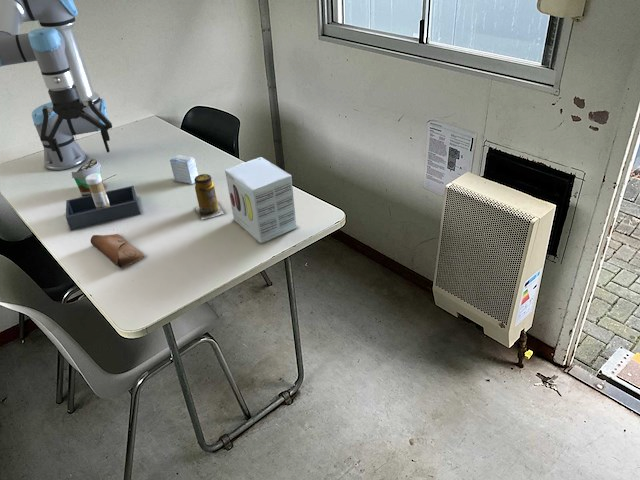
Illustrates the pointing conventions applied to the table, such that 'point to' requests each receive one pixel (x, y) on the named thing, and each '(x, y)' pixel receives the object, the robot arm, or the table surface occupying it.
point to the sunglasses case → (116, 249)
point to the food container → (83, 172)
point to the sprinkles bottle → (97, 191)
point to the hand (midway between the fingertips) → (85, 155)
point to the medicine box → (184, 169)
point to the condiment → (206, 197)
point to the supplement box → (261, 198)
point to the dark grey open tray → (86, 213)
